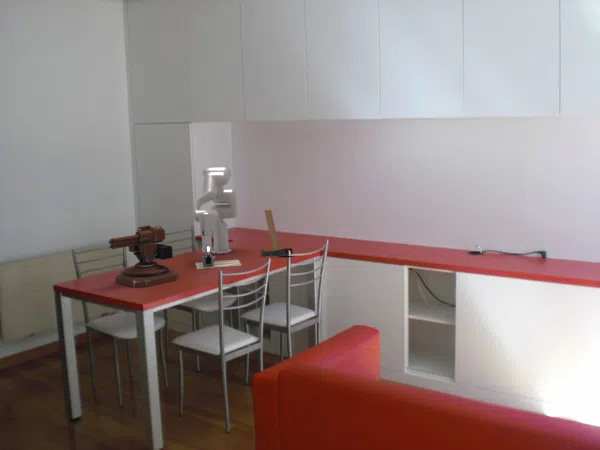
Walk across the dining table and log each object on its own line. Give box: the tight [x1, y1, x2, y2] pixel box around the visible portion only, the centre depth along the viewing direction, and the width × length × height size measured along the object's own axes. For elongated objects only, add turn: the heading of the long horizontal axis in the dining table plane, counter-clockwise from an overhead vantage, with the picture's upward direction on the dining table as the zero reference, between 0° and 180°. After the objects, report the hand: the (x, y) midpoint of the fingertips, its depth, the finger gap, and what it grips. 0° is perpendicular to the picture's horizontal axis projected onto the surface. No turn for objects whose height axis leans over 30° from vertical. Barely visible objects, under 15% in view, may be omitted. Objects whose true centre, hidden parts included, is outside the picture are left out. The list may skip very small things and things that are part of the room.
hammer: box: [258, 209, 293, 257], centre depth 439 cm, size 20×5×30 cm, turn 70°
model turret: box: [108, 225, 179, 288], centre depth 381 cm, size 28×35×30 cm
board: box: [195, 259, 242, 270], centre depth 416 cm, size 18×26×6 cm
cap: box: [201, 254, 215, 266], centre depth 412 cm, size 7×7×5 cm
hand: (208, 262), depth 412 cm, fingers open, 7 cm apart
